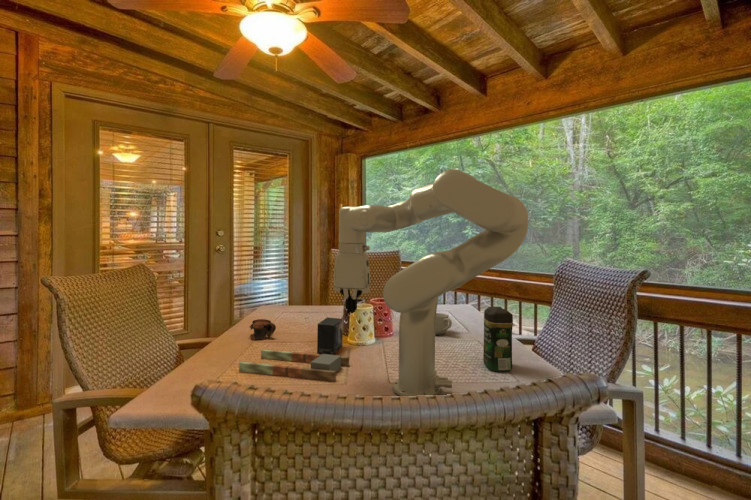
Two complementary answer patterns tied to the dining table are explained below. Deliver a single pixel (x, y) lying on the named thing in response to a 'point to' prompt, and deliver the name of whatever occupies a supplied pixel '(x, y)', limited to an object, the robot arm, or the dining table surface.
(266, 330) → the pottery mug
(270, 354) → the channel
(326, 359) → the grey block
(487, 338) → the coffee jar
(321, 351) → the small box
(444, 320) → the teacup
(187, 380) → the dining table surface
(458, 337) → the dining table surface
